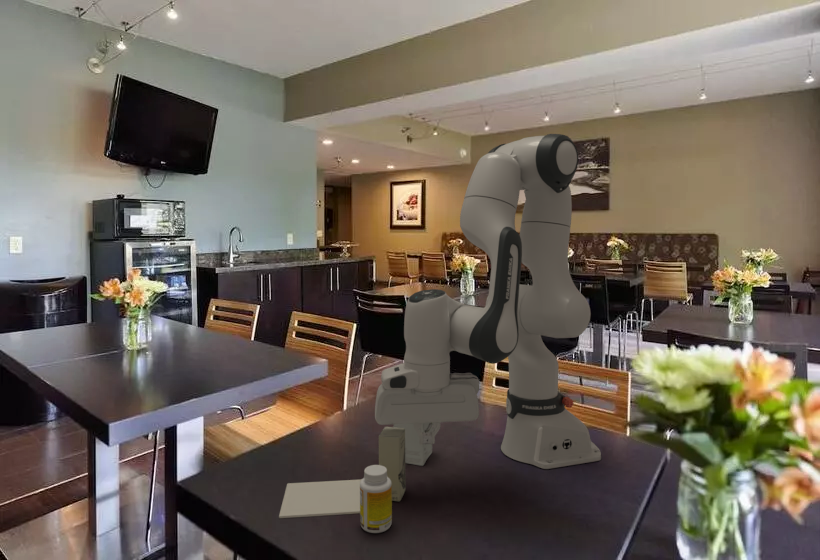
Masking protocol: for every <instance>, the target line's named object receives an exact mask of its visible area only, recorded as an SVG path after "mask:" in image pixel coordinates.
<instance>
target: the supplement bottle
mask: <svg viewBox="0 0 820 560" xmlns="http://www.w3.org/2000/svg"><path fill="white" fill-rule="evenodd" d="M363 472H364V473H363V478H361V479H362V480H361V482H360V513H359V519H360V522H359V523H360V526H361V528H362V529H363V531H365V532H367V533H370V534H381V533H383V532H386V531H388V530H389V529H390V527H391V525H392V524H393V523H392V522H393V515H392V514H393V509H392V508H393V507H392V506H393V501H392V484H391V480H390V479H389V478H388V477H387V469H386V467H384V466H381V465H379V464H371V465H368V466H366V467H365V468H364V471H363Z"/></svg>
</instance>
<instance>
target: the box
mask: <svg viewBox="0 0 820 560" xmlns="http://www.w3.org/2000/svg"><path fill="white" fill-rule="evenodd" d="M378 465H381V466H384V467H386V469H387V477H388V478H389V479H390V480H391V484H392V502H401V500H402V498H403V496H404V494H405V492H406V488H407V487H406V480H407V479H406V463H405V428H397V427H393V426H384V428H383V429H382V430H381V432H380V433H379V435H378Z"/></svg>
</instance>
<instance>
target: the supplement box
mask: <svg viewBox="0 0 820 560" xmlns="http://www.w3.org/2000/svg"><path fill="white" fill-rule="evenodd" d="M392 425H393V426H392V427H397V428H405V464H409V465H416V466H420V467H423V466H424V465H425V463H426V461H427V460H428V459H429V458H430V456H431V455H432V454H433V444H421V445H420V444H419V435H418V433H417V432H416V430H415V428H414V425H413V424H392ZM432 428H433V425H432V423H422V428H420V430H421V432H422V433H428V432H430V431H431V430H432Z"/></svg>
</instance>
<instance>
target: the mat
mask: <svg viewBox="0 0 820 560" xmlns="http://www.w3.org/2000/svg"><path fill="white" fill-rule="evenodd" d="M362 479H363V478H361V479H350V480H349V479H347V480H343V479H342V480H327V481H325V480H324V481H309V482H307V481H306V482H291V483H290V482H288V483H287V484H286V487H285V491H284V495H283V499H282V504H281V506H280V511H279V515H278V518H279V519H291V518H293V519H294V518H307V517H308V518H309V517H321V516H337V515H338V516H339V515H353V514H354V515H355V514H356V515H358V514H360V482H361V480H362Z"/></svg>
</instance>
